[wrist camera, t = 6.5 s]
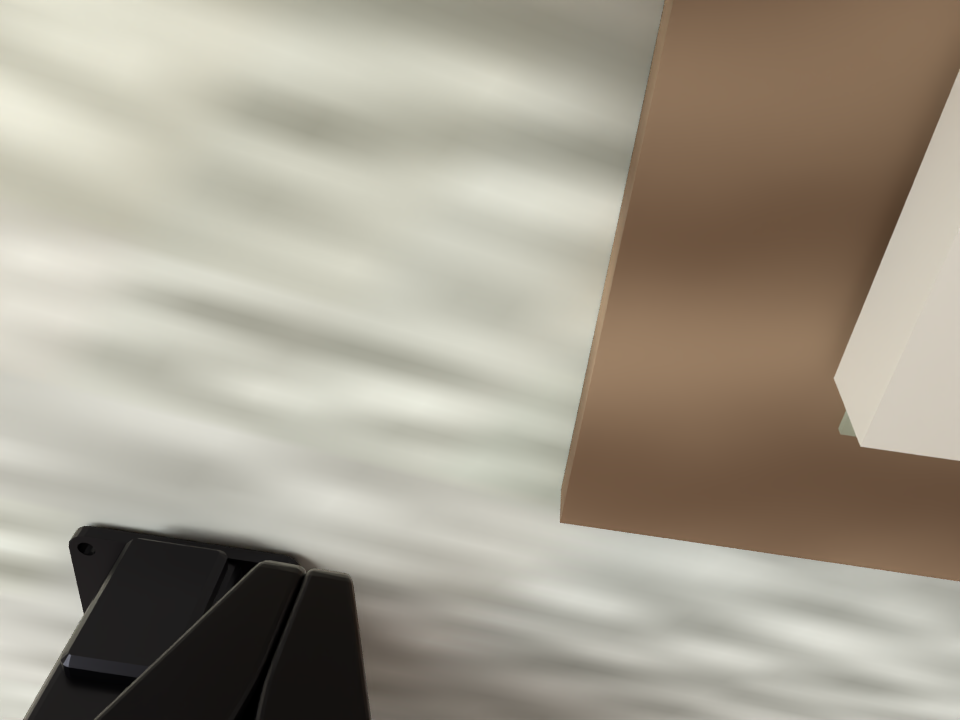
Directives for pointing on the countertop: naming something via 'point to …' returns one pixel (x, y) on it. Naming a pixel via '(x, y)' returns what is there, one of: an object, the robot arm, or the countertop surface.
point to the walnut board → (764, 286)
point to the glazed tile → (914, 317)
